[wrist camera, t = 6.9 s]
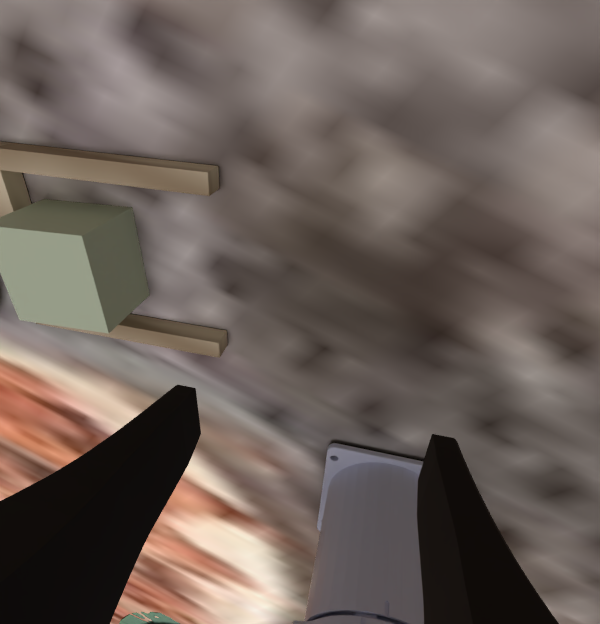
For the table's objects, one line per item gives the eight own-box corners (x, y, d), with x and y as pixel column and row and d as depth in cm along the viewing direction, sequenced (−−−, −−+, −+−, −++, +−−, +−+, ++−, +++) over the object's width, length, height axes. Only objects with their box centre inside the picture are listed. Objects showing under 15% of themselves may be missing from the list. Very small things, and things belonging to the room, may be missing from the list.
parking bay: (227, 344, 24) (219, 357, 23) (50, 312, 26) (36, 323, 25) (218, 165, 19) (207, 172, 18) (-5, 140, 20) (-27, 145, 19)
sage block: (150, 293, 23) (108, 333, 20) (72, 283, 24) (19, 319, 21) (133, 206, 21) (81, 236, 17) (46, 198, 22) (-20, 224, 18)
